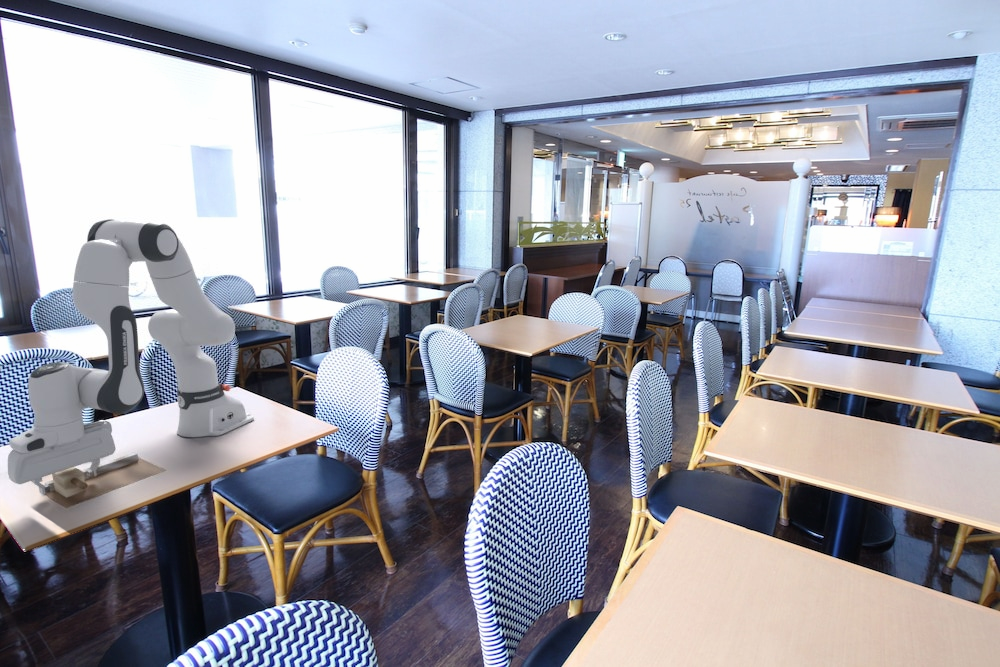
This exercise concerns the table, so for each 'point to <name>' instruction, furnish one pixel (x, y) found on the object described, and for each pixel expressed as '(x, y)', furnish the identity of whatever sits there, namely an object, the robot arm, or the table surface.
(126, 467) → the walnut board
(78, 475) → the wooden mallet
